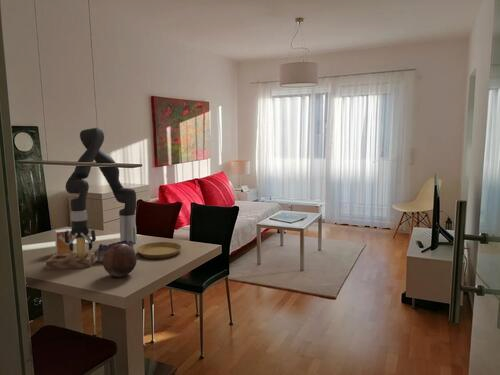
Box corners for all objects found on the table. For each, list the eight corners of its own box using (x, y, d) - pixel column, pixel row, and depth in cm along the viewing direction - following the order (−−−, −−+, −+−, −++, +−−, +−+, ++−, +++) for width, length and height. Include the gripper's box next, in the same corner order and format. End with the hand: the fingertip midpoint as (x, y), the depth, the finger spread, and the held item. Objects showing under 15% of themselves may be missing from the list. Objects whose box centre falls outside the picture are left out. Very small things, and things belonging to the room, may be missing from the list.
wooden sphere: (142, 271, 190) (141, 240, 188) (128, 282, 175) (126, 249, 173) (113, 269, 192) (112, 239, 190) (97, 280, 178) (95, 248, 176)
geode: (105, 265, 199) (102, 246, 198) (93, 263, 206) (90, 245, 205) (139, 254, 214) (136, 236, 213) (127, 253, 222) (124, 235, 221)
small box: (57, 255, 214) (56, 232, 212) (55, 252, 219) (54, 230, 218) (73, 253, 218) (72, 230, 217) (71, 250, 224) (70, 228, 222)
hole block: (94, 259, 207) (94, 252, 207) (89, 267, 196) (89, 259, 195) (54, 261, 204) (53, 254, 203) (46, 269, 192) (45, 261, 192)
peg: (87, 262, 203) (85, 235, 201) (85, 264, 199) (83, 237, 197) (79, 262, 202) (77, 236, 200) (77, 265, 198) (75, 238, 197)
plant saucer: (188, 255, 215) (187, 249, 214) (144, 263, 202) (143, 256, 202) (172, 245, 235) (172, 239, 235) (132, 251, 223) (131, 245, 223)
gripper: (95, 216, 202) (97, 247, 205) (66, 217, 200) (68, 248, 202) (92, 220, 195) (94, 251, 197) (61, 221, 193) (64, 253, 195)
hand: (81, 250), depth 200 cm, fingers open, 8 cm apart
